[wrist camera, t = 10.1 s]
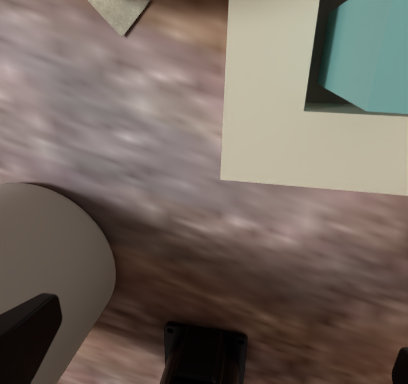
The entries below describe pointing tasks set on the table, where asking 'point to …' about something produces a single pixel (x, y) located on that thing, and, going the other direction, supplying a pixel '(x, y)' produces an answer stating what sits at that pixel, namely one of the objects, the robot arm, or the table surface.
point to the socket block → (300, 108)
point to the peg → (368, 54)
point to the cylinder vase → (54, 265)
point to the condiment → (119, 12)
